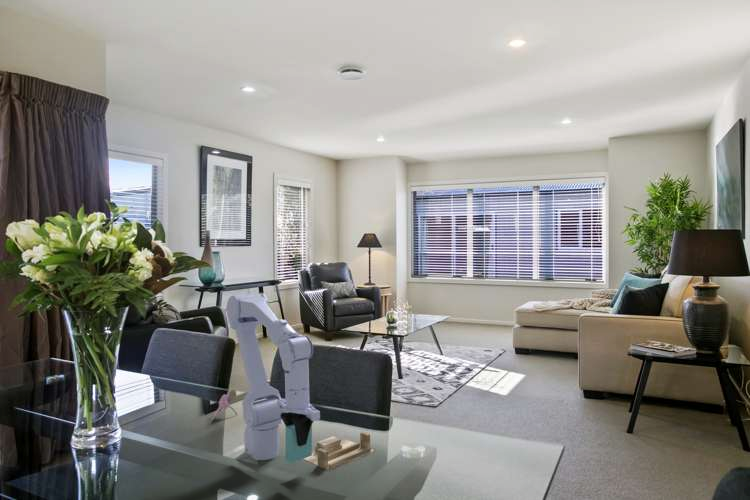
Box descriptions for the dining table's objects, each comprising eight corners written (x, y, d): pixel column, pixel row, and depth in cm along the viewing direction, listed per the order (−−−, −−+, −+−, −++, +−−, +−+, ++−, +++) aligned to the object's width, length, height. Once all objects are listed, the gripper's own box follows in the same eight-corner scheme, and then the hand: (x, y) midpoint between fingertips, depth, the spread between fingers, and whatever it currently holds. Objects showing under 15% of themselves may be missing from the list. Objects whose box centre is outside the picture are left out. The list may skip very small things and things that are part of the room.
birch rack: (299, 461, 135) (298, 441, 135) (344, 443, 146) (344, 424, 146) (329, 475, 126) (328, 454, 126) (374, 455, 138) (374, 435, 138)
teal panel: (285, 459, 123) (285, 426, 123) (305, 452, 128) (305, 420, 128) (291, 462, 122) (291, 429, 122) (311, 455, 126) (311, 422, 126)
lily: (226, 411, 178) (211, 389, 176) (254, 400, 175) (239, 378, 173) (211, 434, 167) (195, 411, 165) (241, 423, 164) (225, 399, 162)
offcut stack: (314, 452, 137) (314, 443, 137) (333, 444, 142) (333, 435, 142) (323, 456, 135) (323, 447, 135) (342, 448, 139) (342, 439, 139)
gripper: (265, 385, 126) (267, 440, 127) (302, 397, 116) (303, 456, 117) (289, 379, 132) (290, 432, 132) (326, 390, 121) (327, 447, 122)
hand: (298, 443), depth 125 cm, fingers closed on teal panel, 2 cm apart
